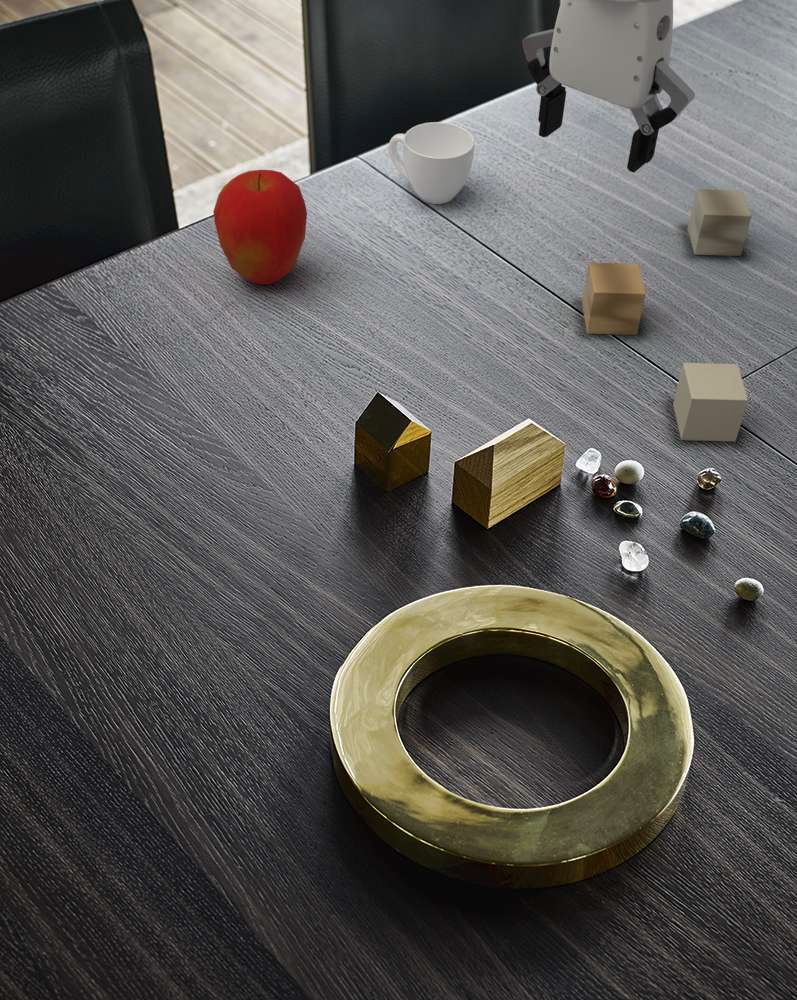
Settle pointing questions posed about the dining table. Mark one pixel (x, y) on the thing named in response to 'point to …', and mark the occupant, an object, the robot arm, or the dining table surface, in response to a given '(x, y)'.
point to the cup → (434, 159)
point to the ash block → (719, 222)
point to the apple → (261, 224)
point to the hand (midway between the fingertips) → (593, 148)
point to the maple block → (613, 298)
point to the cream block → (710, 402)
